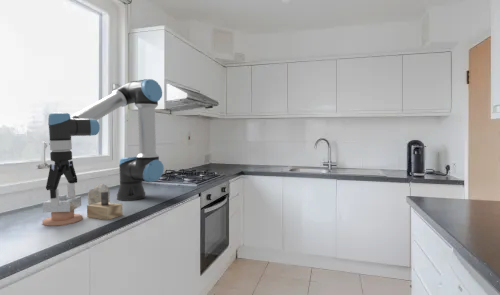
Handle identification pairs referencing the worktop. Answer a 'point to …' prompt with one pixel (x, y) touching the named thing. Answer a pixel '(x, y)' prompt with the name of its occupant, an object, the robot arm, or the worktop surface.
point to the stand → (104, 209)
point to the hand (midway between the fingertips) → (63, 202)
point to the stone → (97, 194)
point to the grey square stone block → (63, 205)
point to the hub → (62, 216)
